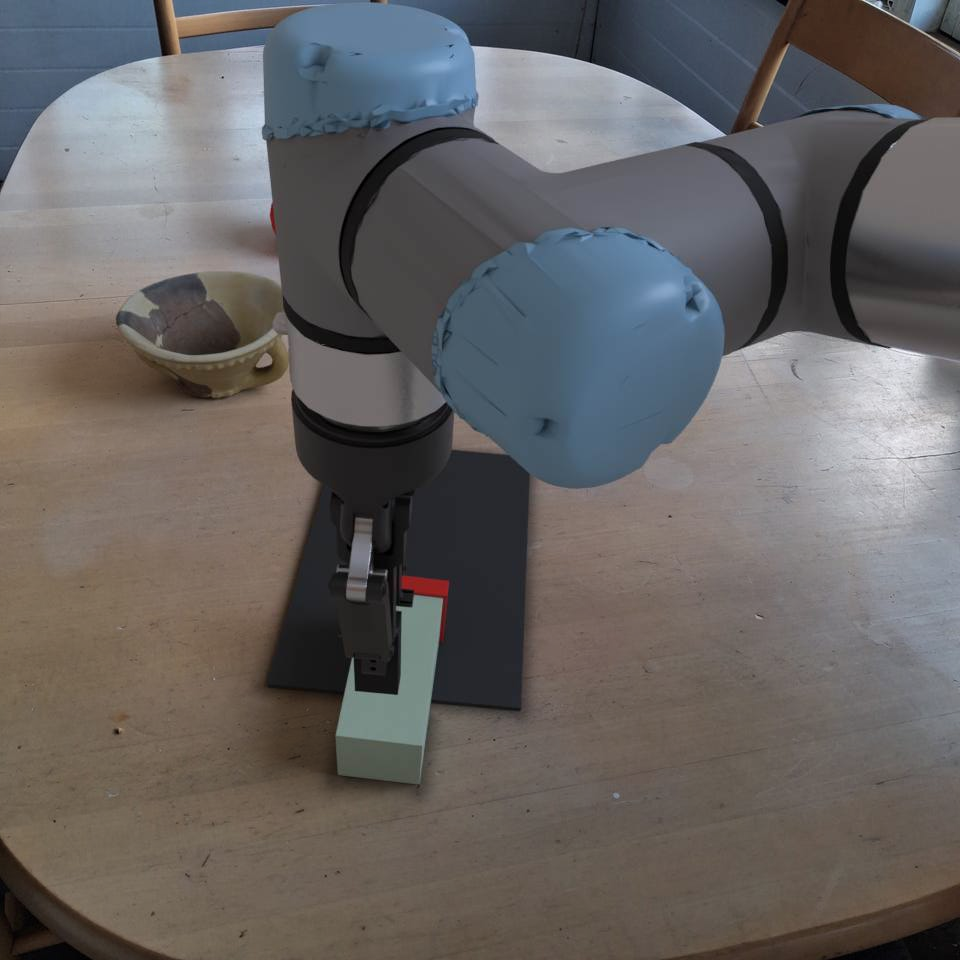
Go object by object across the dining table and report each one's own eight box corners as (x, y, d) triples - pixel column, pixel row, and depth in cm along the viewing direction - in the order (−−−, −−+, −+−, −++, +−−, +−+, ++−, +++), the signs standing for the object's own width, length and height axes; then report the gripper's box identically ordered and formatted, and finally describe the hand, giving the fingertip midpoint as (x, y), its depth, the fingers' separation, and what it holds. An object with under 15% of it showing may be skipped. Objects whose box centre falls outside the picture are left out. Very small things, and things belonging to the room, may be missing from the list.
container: (427, 744, 61) (449, 580, 71) (330, 732, 61) (365, 570, 71) (423, 787, 66) (444, 628, 76) (333, 776, 66) (366, 619, 76)
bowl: (322, 350, 105) (317, 277, 98) (260, 447, 92) (250, 370, 85) (180, 323, 107) (167, 250, 100) (100, 414, 94) (78, 336, 87)
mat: (520, 710, 71) (521, 708, 71) (267, 686, 71) (267, 684, 71) (529, 459, 93) (530, 456, 93) (336, 441, 93) (336, 438, 93)
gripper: (319, 301, 46) (337, 598, 62) (257, 472, 36) (297, 771, 52) (466, 314, 46) (446, 608, 62) (442, 489, 36) (426, 783, 52)
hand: (378, 682), depth 57 cm, fingers closed
